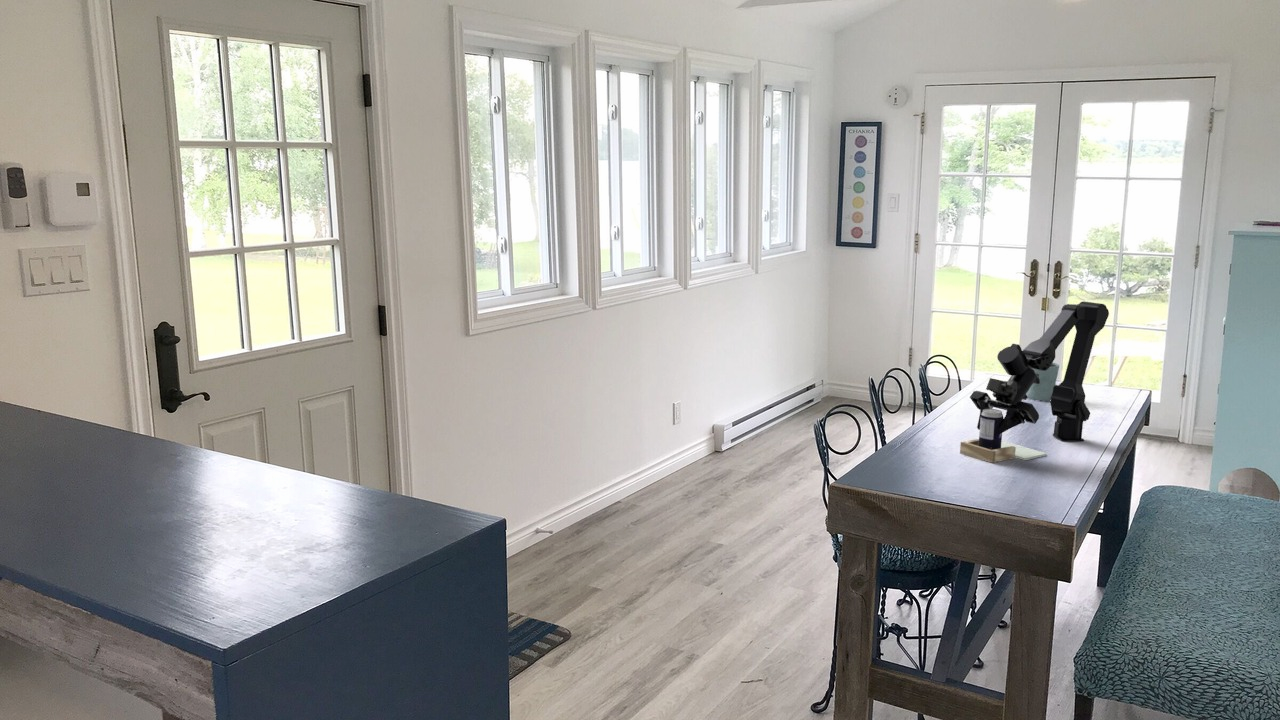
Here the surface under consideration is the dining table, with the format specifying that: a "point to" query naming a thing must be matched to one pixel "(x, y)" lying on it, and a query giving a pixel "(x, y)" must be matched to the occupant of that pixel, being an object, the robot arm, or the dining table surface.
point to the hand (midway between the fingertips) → (987, 431)
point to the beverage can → (990, 429)
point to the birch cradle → (986, 451)
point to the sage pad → (1024, 451)
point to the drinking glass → (1044, 384)
